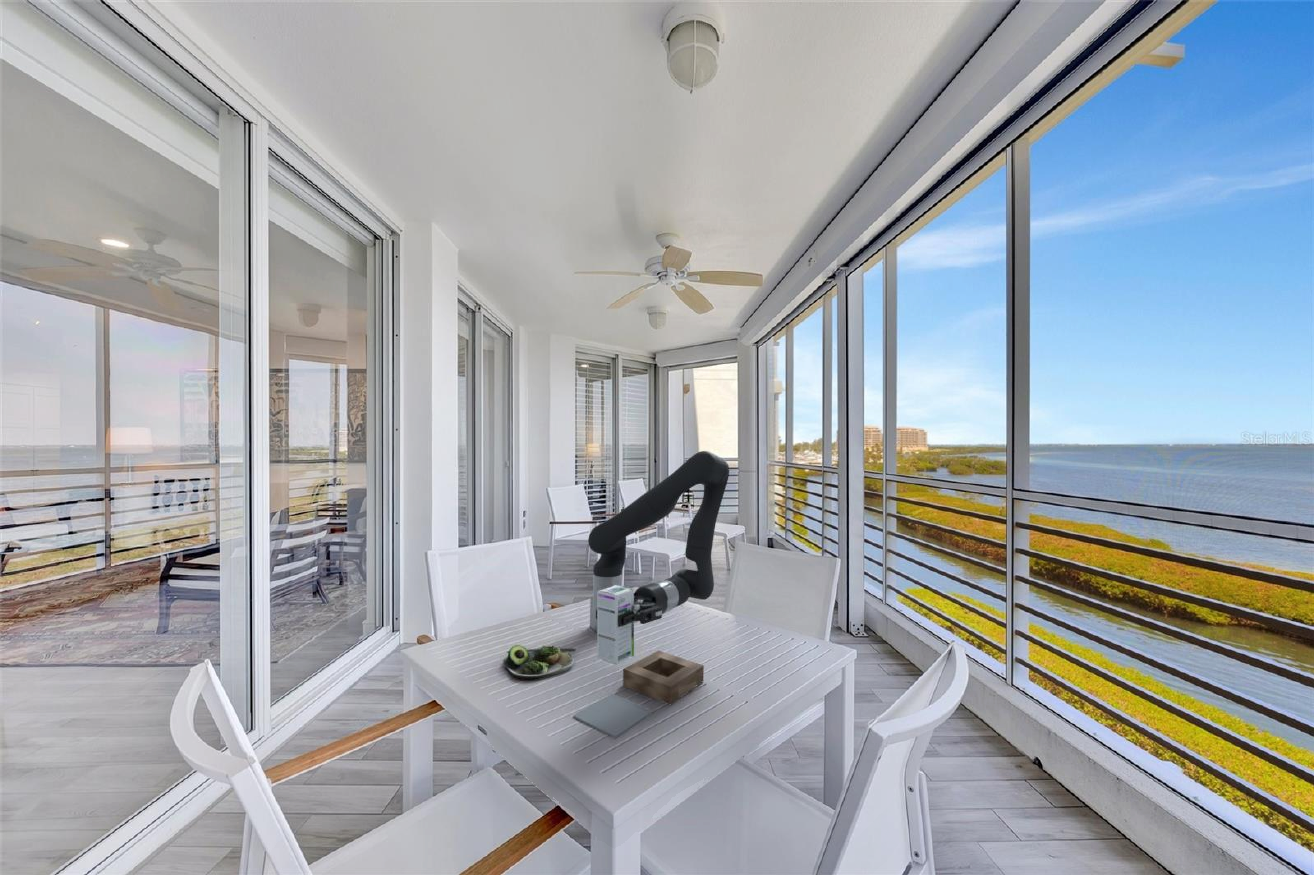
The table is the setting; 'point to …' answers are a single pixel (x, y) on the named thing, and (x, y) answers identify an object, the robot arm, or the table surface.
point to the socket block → (659, 687)
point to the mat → (613, 715)
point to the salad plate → (536, 661)
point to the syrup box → (614, 624)
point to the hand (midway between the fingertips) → (608, 618)
